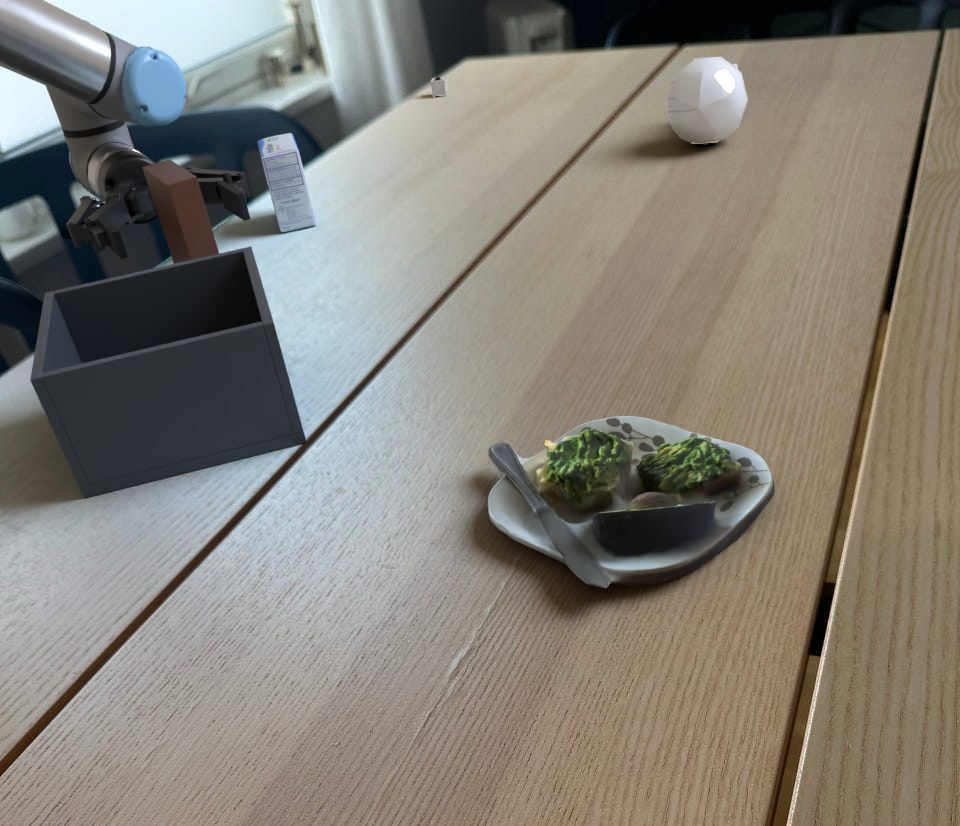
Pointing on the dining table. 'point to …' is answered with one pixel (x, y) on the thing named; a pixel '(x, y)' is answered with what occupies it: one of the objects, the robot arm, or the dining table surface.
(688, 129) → the white faceted oblong piece
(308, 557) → the dining table surface
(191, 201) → the reddish brown rectangular block
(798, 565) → the dining table surface
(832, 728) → the dining table surface
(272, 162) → the medicine box
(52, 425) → the open storage box
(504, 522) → the salad plate
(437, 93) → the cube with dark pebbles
